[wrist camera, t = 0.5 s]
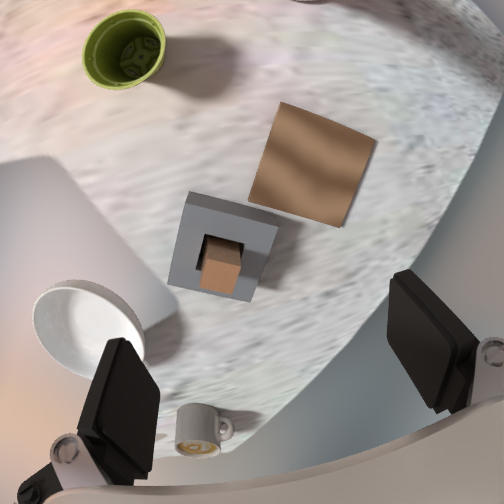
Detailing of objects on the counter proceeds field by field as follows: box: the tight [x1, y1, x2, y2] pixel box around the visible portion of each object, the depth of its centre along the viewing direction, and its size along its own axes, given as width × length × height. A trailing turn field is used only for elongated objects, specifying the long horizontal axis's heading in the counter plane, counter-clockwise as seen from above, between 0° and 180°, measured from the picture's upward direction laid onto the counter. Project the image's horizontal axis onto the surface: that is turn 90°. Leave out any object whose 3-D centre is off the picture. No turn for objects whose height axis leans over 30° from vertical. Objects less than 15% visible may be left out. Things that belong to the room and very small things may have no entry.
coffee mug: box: [175, 403, 234, 459], centre depth 60 cm, size 13×10×10 cm
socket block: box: [167, 191, 279, 302], centre depth 42 cm, size 12×12×5 cm
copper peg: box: [199, 235, 241, 295], centre depth 40 cm, size 4×4×10 cm
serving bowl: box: [32, 280, 145, 380], centre depth 46 cm, size 21×21×7 cm
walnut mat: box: [248, 102, 375, 228], centre depth 40 cm, size 14×14×1 cm
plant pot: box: [82, 9, 166, 90], centre depth 28 cm, size 9×9×9 cm
